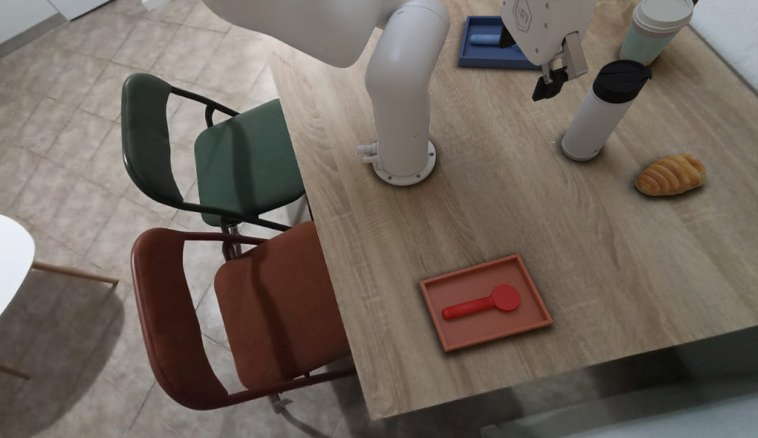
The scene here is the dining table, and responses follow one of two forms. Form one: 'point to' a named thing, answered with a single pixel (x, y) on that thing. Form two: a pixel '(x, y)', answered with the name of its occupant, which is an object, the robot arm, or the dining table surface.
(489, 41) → the blue spoon
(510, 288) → the red spoon
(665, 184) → the pastry
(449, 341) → the front tray
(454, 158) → the dining table surface
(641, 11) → the coffee cup
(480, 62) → the back tray
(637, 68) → the travel mug
